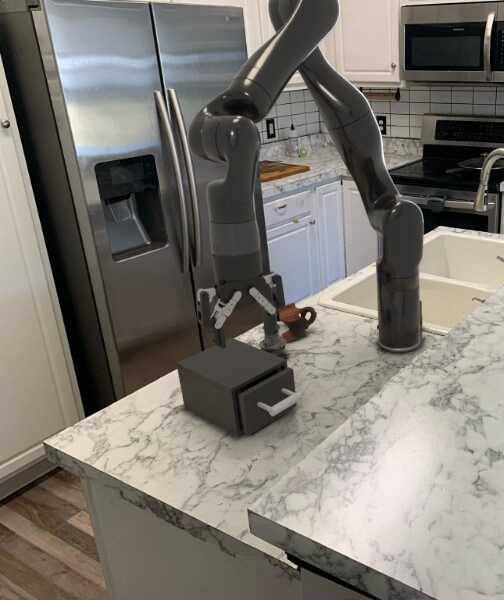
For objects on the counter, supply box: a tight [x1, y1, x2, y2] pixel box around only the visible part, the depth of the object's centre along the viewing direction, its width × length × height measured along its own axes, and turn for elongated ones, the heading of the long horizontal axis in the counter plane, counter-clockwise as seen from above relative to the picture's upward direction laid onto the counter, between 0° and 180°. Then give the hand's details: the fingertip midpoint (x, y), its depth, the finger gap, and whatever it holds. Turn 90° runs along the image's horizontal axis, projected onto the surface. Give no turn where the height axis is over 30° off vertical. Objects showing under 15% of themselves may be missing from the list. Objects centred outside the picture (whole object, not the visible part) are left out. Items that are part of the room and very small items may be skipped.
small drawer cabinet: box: [176, 337, 289, 438], centre depth 113 cm, size 16×13×10 cm
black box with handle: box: [235, 366, 303, 436], centre depth 110 cm, size 19×11×8 cm, turn 53°
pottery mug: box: [275, 302, 318, 343], centre depth 143 cm, size 12×10×8 cm
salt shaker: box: [258, 313, 288, 360], centre depth 130 cm, size 6×6×12 cm
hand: (245, 339), depth 102 cm, fingers open, 8 cm apart
